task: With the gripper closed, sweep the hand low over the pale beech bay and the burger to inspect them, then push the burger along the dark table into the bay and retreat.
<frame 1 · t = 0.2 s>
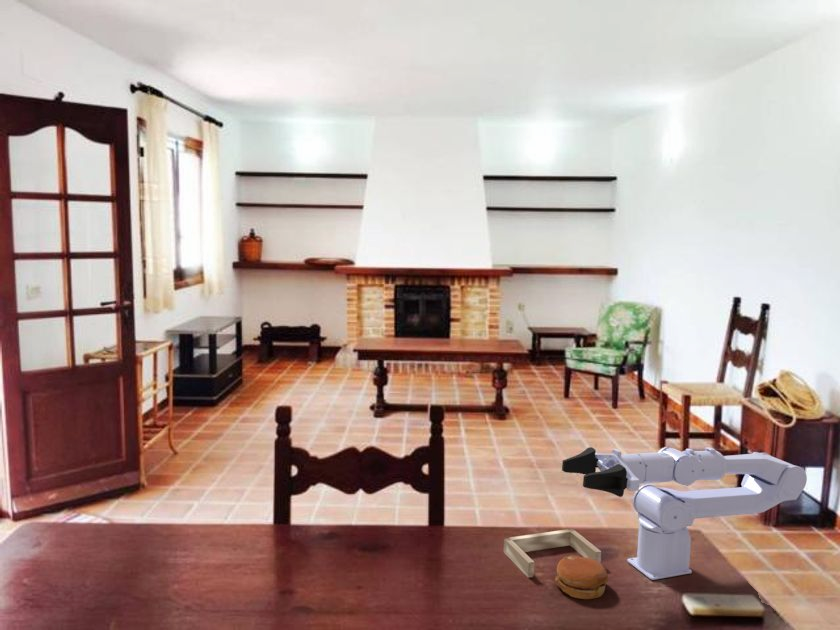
hand: (573, 473, 124), 21 cm above the table, tool horizontal, fingers open, 7 cm apart
burger: (580, 587, 125), on the table
bay: (551, 559, 135), on the table
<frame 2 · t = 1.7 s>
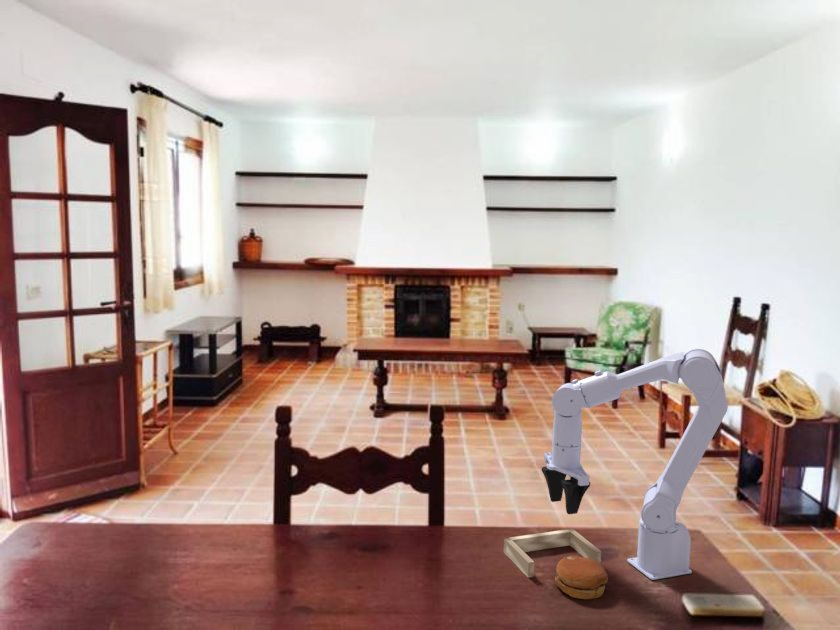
hand: (563, 506, 138), 9 cm above the table, tool pointing down, fingers open, 6 cm apart
nothing on the table moved.
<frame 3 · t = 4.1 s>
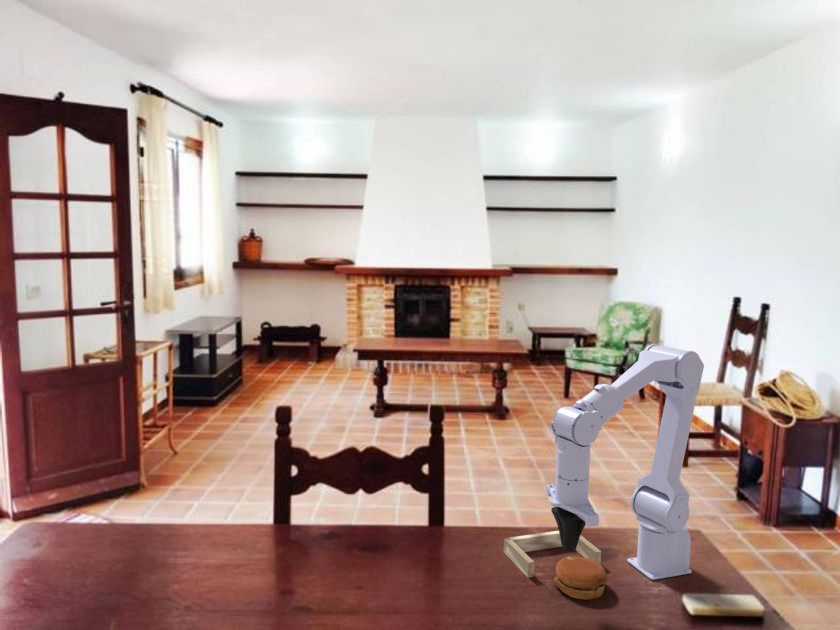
hand: (569, 548, 120), 9 cm above the table, tool pointing down, fingers closed
nothing on the table moved.
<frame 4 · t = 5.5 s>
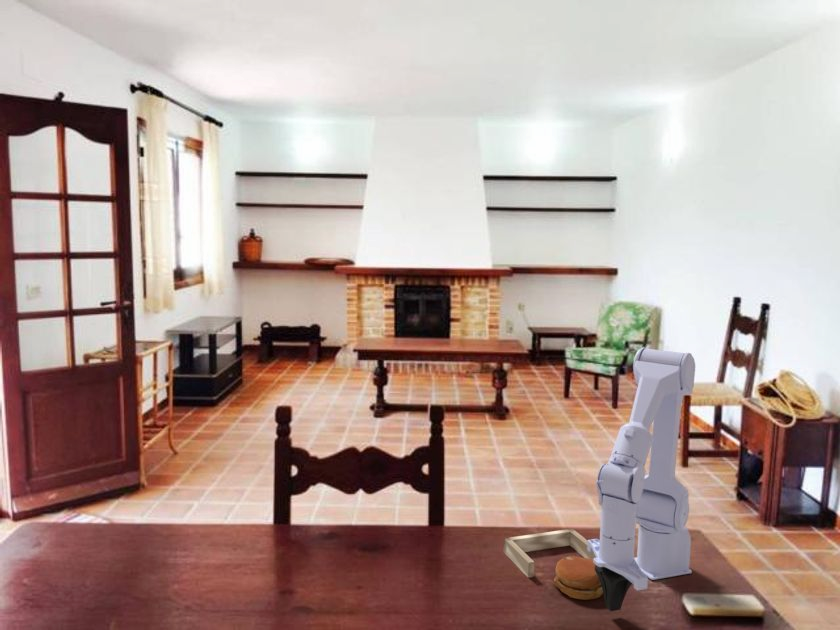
hand: (613, 608, 116), 1 cm above the table, tool pointing down, fingers closed
nothing on the table moved.
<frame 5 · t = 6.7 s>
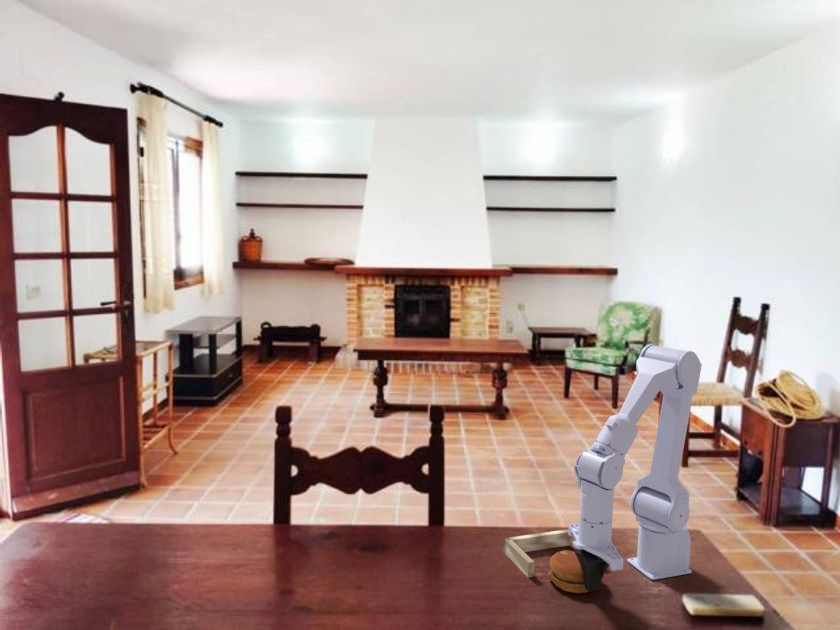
hand: (592, 589, 122), 1 cm above the table, tool pointing down, fingers closed
burger: (572, 582, 127), on the table, touching gripper
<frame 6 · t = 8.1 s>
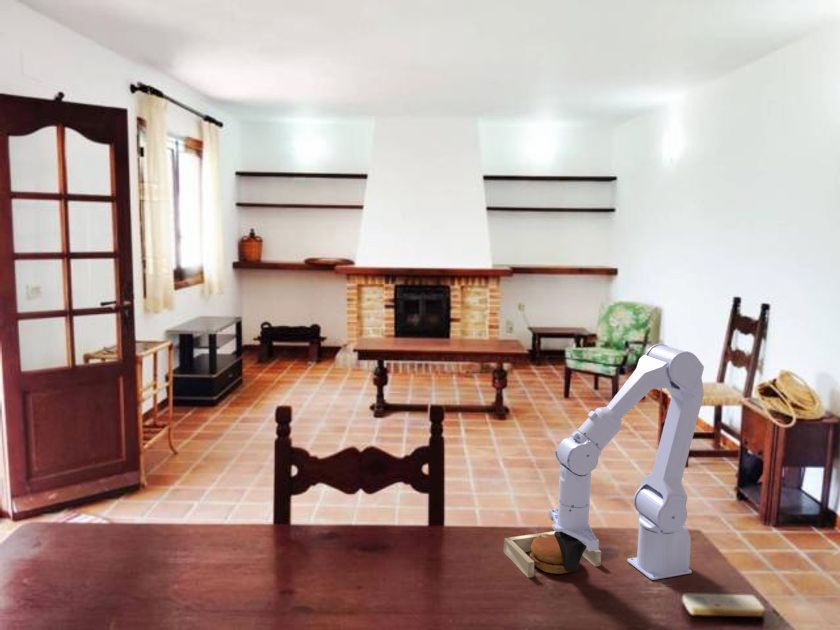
hand: (570, 569, 129), 1 cm above the table, tool pointing down, fingers closed
burger: (552, 564, 134), on the table, touching gripper
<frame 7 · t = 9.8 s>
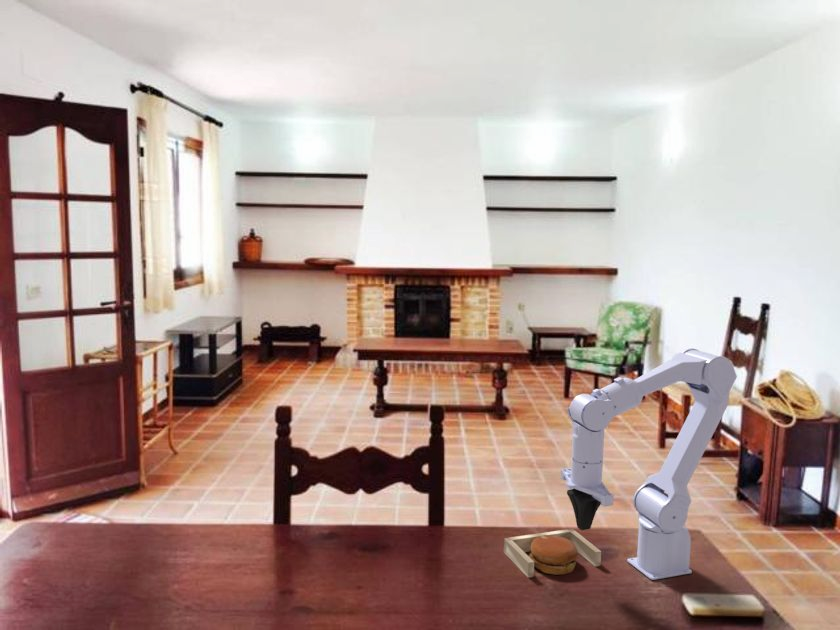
hand: (583, 528, 127), 10 cm above the table, tool pointing down, fingers closed
burger: (552, 564, 134), on the table
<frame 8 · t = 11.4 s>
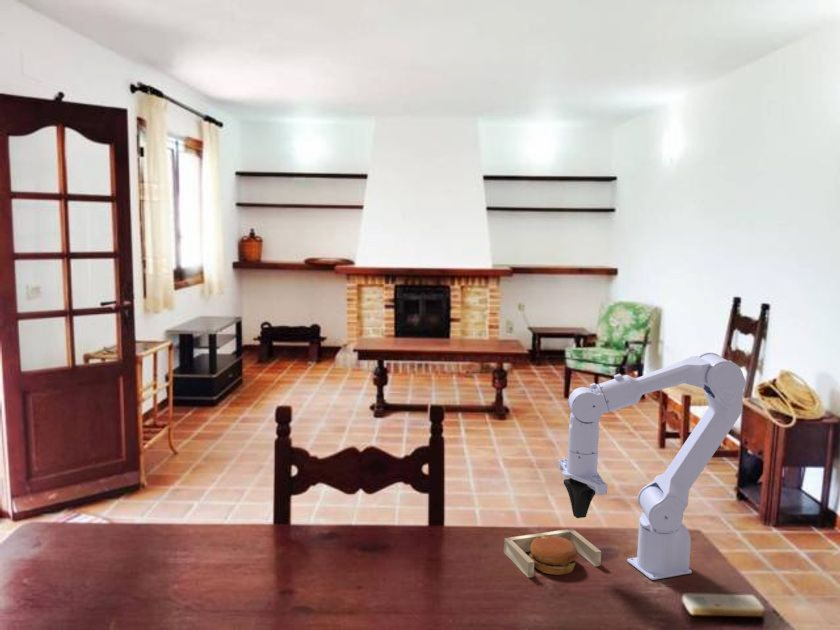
hand: (579, 516, 133), 10 cm above the table, tool pointing down, fingers closed
nothing on the table moved.
at the end: burger inside the target area (1.3 cm from its centre), on the table; burger moved 9.2 cm from its start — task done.
